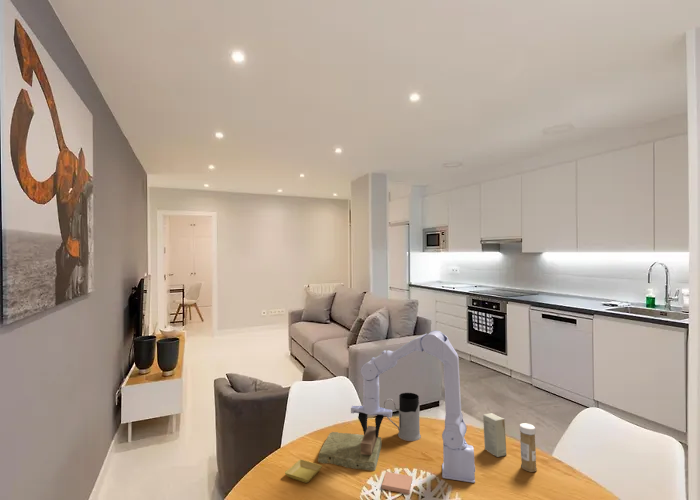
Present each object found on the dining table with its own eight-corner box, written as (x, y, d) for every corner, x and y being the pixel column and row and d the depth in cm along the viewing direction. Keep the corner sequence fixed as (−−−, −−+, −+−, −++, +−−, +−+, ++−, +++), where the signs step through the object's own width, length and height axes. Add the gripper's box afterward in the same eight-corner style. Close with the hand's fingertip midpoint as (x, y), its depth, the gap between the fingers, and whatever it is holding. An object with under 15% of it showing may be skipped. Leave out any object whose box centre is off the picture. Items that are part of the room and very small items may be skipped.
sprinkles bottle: (539, 472, 108) (538, 428, 109) (525, 472, 108) (524, 428, 109) (531, 464, 113) (530, 422, 114) (518, 464, 113) (516, 422, 114)
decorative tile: (329, 439, 131) (329, 429, 131) (382, 444, 127) (382, 434, 127) (315, 466, 112) (315, 455, 113) (375, 473, 108) (375, 462, 109)
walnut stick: (378, 436, 123) (377, 426, 123) (371, 455, 111) (371, 444, 111) (368, 435, 124) (368, 425, 124) (360, 453, 112) (360, 443, 112)
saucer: (284, 479, 105) (284, 472, 105) (300, 465, 113) (300, 458, 113) (307, 487, 101) (307, 480, 101) (322, 472, 109) (322, 465, 109)
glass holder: (422, 441, 128) (422, 400, 129) (384, 440, 129) (384, 399, 130) (418, 430, 137) (418, 392, 138) (383, 429, 137) (383, 391, 138)
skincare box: (507, 455, 118) (505, 419, 119) (497, 458, 117) (496, 421, 117) (492, 446, 124) (492, 412, 125) (483, 449, 123) (482, 413, 123)
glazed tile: (412, 476, 104) (409, 490, 98) (412, 481, 104) (409, 495, 98) (386, 471, 107) (381, 484, 100) (386, 476, 107) (381, 490, 100)
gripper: (393, 394, 123) (393, 433, 122) (354, 390, 127) (354, 428, 126) (390, 401, 116) (390, 442, 115) (349, 397, 120) (349, 437, 119)
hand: (371, 435), depth 120 cm, fingers closed on walnut stick, 3 cm apart
